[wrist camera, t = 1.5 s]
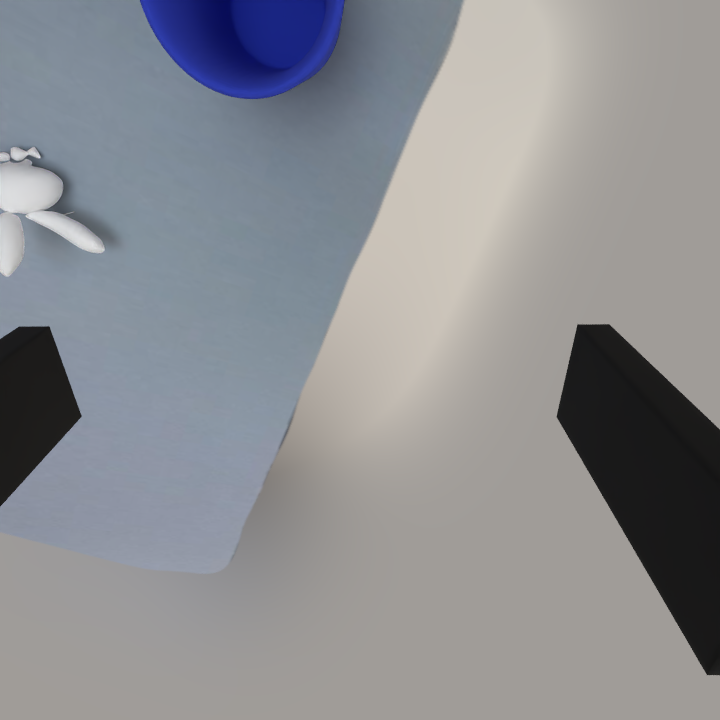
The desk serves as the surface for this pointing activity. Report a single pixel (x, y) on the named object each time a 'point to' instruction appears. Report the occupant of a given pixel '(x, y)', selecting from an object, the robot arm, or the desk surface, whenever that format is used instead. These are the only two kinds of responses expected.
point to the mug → (247, 41)
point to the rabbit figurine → (33, 208)
